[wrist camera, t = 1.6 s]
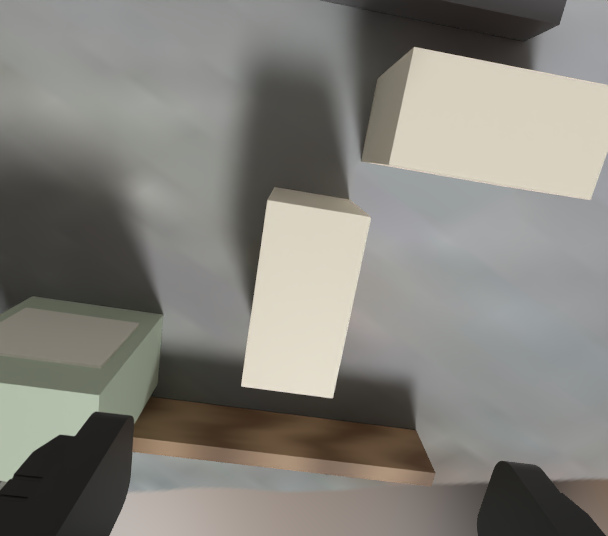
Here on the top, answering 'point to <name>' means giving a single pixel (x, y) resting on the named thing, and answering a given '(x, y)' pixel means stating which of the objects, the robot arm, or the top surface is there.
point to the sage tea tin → (70, 370)
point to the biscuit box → (304, 292)
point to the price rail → (475, 14)
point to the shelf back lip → (281, 441)
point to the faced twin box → (489, 124)
